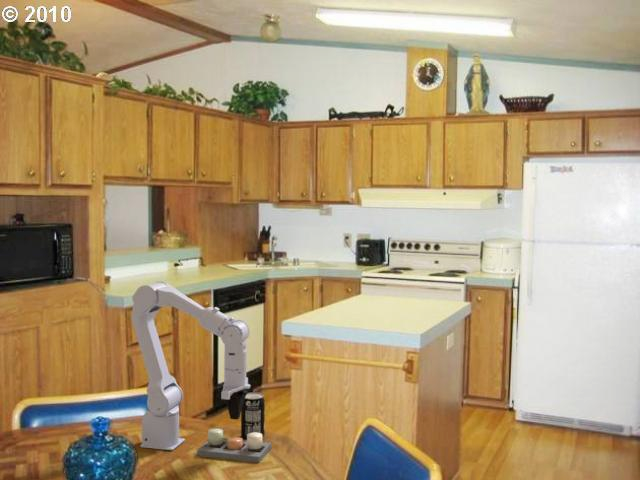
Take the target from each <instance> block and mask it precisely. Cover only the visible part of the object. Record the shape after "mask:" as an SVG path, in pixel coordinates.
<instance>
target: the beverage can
mask: <svg viewBox="0 0 640 480" xmlns="http://www.w3.org/2000/svg"><path fill="white" fill-rule="evenodd" d="M265 406H266V401H265V398H264V394H263V393H260V392H248V393H247V395H246V397H245V399H244V402H243V405H242V409H241V414H240V436H241V438H242V439H243V440H247V434H249V433H254V432H257V433H261V434H262V439H264V437H265V434H266V433H265V432H266V431H265V427H266V426H265V425H266V424H265V421H266V420H265V419H266V418H265V417H266V415H265V414H266V413H265V412H266V407H265Z"/></svg>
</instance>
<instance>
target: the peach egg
mask: <svg viewBox="0 0 640 480" xmlns="http://www.w3.org/2000/svg"><path fill="white" fill-rule="evenodd" d="M243 440H244V439H243V437H239V436H232V437H229V439H227V449H231V450H241V449H242V446H243Z"/></svg>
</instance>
